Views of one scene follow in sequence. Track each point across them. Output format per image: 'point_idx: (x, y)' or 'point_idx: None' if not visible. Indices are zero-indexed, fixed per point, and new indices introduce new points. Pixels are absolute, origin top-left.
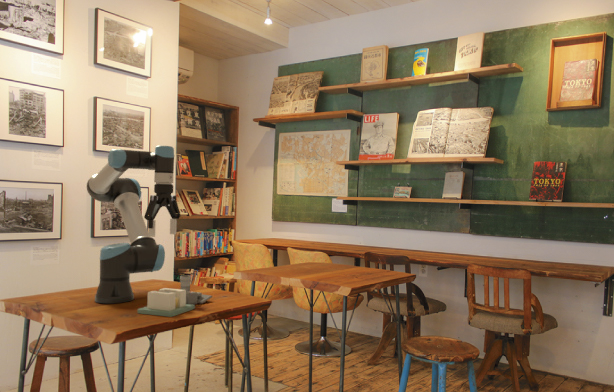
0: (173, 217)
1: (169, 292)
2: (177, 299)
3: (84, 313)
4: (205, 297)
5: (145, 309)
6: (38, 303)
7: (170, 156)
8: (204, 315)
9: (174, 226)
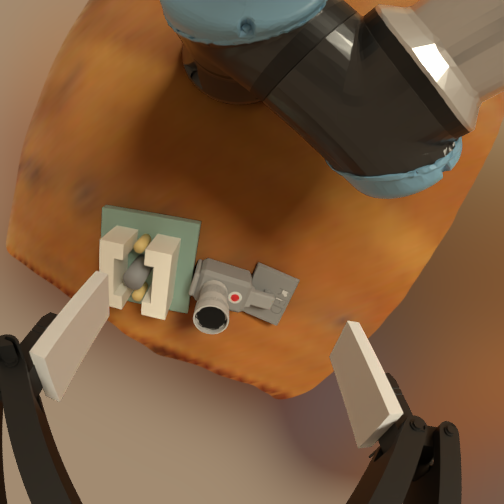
0: (391, 439)
1: (134, 286)
2: (137, 300)
3: (79, 88)
4: (266, 313)
5: (104, 227)
6: None
7: None
8: (140, 341)
9: (347, 393)
